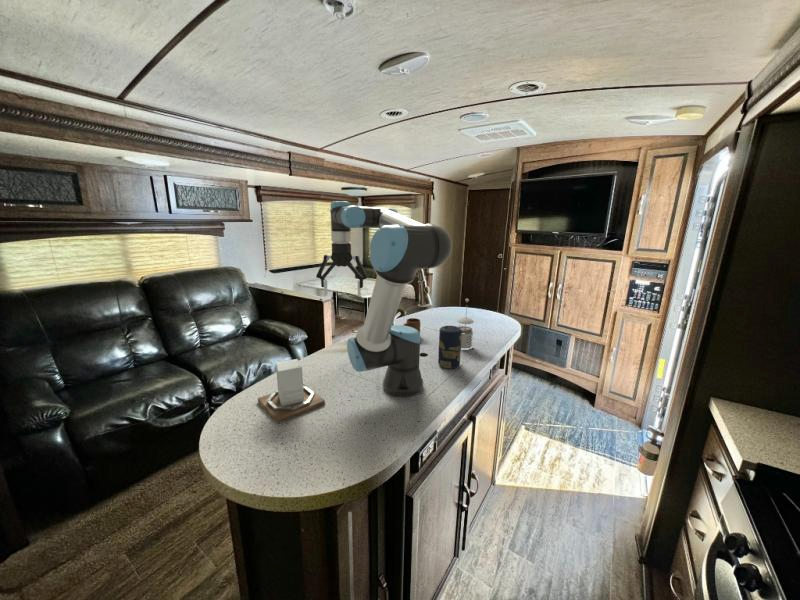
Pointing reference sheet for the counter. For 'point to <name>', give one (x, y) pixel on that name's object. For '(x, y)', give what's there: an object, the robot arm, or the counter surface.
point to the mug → (413, 323)
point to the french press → (466, 331)
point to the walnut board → (286, 415)
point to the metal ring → (278, 408)
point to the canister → (449, 346)
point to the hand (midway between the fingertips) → (342, 295)
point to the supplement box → (289, 382)
